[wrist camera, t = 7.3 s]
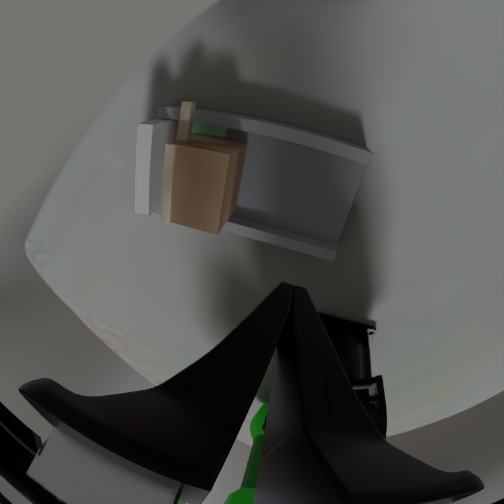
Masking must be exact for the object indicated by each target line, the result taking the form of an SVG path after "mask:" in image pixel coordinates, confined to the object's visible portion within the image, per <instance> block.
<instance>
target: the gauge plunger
mask: <svg viewBox="0 0 504 504" xmlns="http://www.w3.org/2000/svg"><path fill="white" fill-rule="evenodd" d="M195 105H196V102H191V101H182V105H181V113H180V120H179V129H178V137H177V140H174V141H172V142H169V143H166V146H165V157H164V171H163V187H162V209H161V221H162V222H166V223H171V222H173V223H176V224H180V225H184V226H187V227H191V228H194V229H198V230H202V231H205V232H209V233H213V234H216V235H218V233H219V232H220V230H221V229H222V228H223V226H224V225H225V223H226V222H227V220H228V219H229V218H230V216H231V215H232V213H233V212H234V210H235V209H236V205H237V199H238V194H239V188H240V183H241V177H242V172H243V166H244V161H245V156H246V150H247V145H248V142H244V141H239V140H234V139H229V138H224V137H219V136H213V135H208V134H202V133H193V134H191V133H192V126H193V119H194V112H195Z"/></svg>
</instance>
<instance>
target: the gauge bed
mask: <svg viewBox="0 0 504 504" xmlns="http://www.w3.org/2000/svg"><path fill="white" fill-rule="evenodd" d="M180 113H181V105H174V104H172V105H164V106H158V108H157V117H156V118H159V119H154V120H150V121H146V122H142V123H138V132H137V148H136V175H135V213H139V214H143V215H146V216H149V215H150V214H152V213H153V212H155V213H159V214H161V209H162V187H163V171H164V157H165V146H166V143H169V142H172V141H174V140H177V137H178V129H179V120H180ZM193 133H202V134H208V135H213V136H219V137H224V138H229V139H234V140H239V141H244V142H248V145H247V150H246V156H245V161H244V166H243V172H242V177H241V183H240V188H239V194H238V199H237V205H236V209H235V210H234V212H233V213H232V215H231V216H230V218H229V219H228V220H227V222H226V223H225V225H224V226H223V228H222V229H221V230H222V231H226V232H229V233H233V234H237V235H240V236H244V237H248V238H251V239H255V240H258V241H262V242H266V243H269V244H273V245H276V246H280V247H283V248H287V249H290V250H294V251H297V252H301V253H304V254H308V255H311V256H315V257H318V258H322V259H325V260H329V261H332V262H334V260H335V257H336V255H337V244H338V241H339V239H340V236H341V234H342V231H343V228H344V226H345V223H346V220H347V218H348V215H349V212H350V209H351V207H352V204H353V201H354V198H355V195H356V192H357V190H358V187H359V184H360V181H361V178H362V175H363V172H364V169H365V166H366V165H370V162H371V159H372V155H373V153H372V152H371V151H370V150H369V149H368V148H367V147H364V146H361V145H359V144H356V143H353V142H350V141H346V140H343V139H340V138H337V137H334V136H330V135H327V134H324V133H320V132H317V131H313V130H309V129H306V128H302V127H298V126H294V125H290V124H286V123H282V122H278V121H273V120H269V119H264V118H259V117H254V116H249V115H244V114H239V113H233V112H227V111H221V110H214V109H208V108H200V107H195V112H194V119H193V126H192V133H191V134H193Z"/></svg>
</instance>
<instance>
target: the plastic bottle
mask: <svg viewBox="0 0 504 504" xmlns="http://www.w3.org/2000/svg"><path fill="white" fill-rule="evenodd" d="M268 406H269V402H267V403H266V404H264V405H262V407H261V408H260V409H259V410H258V412H257V413H256V414H255V416H254V417H253V419H252V421H251V424H250V431H251V436H252V438H253V445H252V449H251V452H250V456H249V460H248V463H247V467H246V471H245V474H244V478H243V482H242V485H241V488H240V489H239V490H237V491H235V492H233V493H232V494H230V495H229V496H228V498H227V500H226V501H225V503H224V504H253V500H254V494H255V489H256V483H257V477H258V471H259V465H260V462H261V461H260V459H261V453H262V446H263V440H264V432H263V430H262V425H263V423H264V421H265V417H266V415H267V412H268Z"/></svg>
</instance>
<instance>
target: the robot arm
mask: <svg viewBox="0 0 504 504" xmlns="http://www.w3.org/2000/svg"><path fill="white" fill-rule="evenodd" d="M371 331H373V332H371ZM376 333H377V332H376V328H375V327H373V326H368V325H364V324H360V323H356V322H352V321H348V320H344V319H340V318H336V317H332V316H328V315H324V314H320V313H317V310H316V308H315V306H314V304H313V302H312V300H311V298H310V296H309V294H308V292H307V290H306V288H303V287H300V286H296V285H295V286H294V287H293V285H292V284H289V283H285V282H281V283H280V284H279V285H278V286H277V287H276V288H275V289H274V290H273V291H272V292H271V293H270V294H269V295H268V296H267V297H266V298H265V299H264V300H263V301H262V302H261V303H260V304H259V305H258V306H257V307H256V308H255V309H254V310H253V311H252V312H251V313H250V314H249V315H248V316H247V317H246V318H245V319H244V320H243V321H242V322H241V323H240V324H239V325H238V326H237V327H236V328H235V329H234V330H233V331H231V332H230V333H229V335H227V336H226V337H225V338H224V339H223V340H222V341H221V342H220V343H219V344H217V345H216V346H215V347H214V348H213V349H212V350H211V351H209V352H208V353H207V354H205V355H204V356H203V357H201V358H200V359H198V360H197V361H196V362H194V363H193V364H191V365H190V366H188V367H187V368H185V369H184V370H182V371H181V372H179V373H178V374H176V375H175V376H173V377H172V378H170V379H168V380H167V381H165V382H164V383H162V384H160V385H158V386H155V387H153V388H150V389H146V390H140V391H134V392H127V393H120V394H113V395H104V396H82V395H79V394H75V393H73V392H71V391H69V390H68V389H66V388H64V387H63V386H61V385H60V384H58V383H57V382H55V381H54V380H52V379H49V378H41V379H37V380H32V381H30V382H27V383H25V384H24V385H22V386H21V387H20V388H19V392H20V393H21V394H22V395H23V397H24V398H25V399H26V400H27V401H28V402H29V403H30V404H31V405H32V406H33V407H34V408H35V409H36V410H37V411H38V412H39V413H40V414H41V415H42V416H43V417H44V418H45V419H46V420H47V421H48V422H49V423H50V424H51V425H53V428H52V430H51V432H50V433H49V435H48V437H47V439H46V440H45V442H44V444H43V445H42V441H41V437H40V436H38V435H37V434H36V433H35V432H33V431H32V430H31V429H30V428H28V427H27V426H26V425H25V424H24V423H23V422H22V421H20V420H19V419H18V418H17V417H16V416H15V415H14V414H13V413H12V412H11V411H9V410H8V409H7V408H6V407H5V406H4V405H3V404H2V403H1V402H0V503H1V504H186V503H188V504H202V502H203V501H204V500H205V498H206V497H207V495H208V494H209V493H210V491H211V490H212V487H213V485H214V483H215V481H216V479H217V477H218V475H219V473H220V471H221V469H222V467H223V465H224V463H225V460H226V458H227V456H228V454H229V452H230V450H231V448H232V446H233V444H234V442H235V439H236V437H237V435H238V433H239V431H240V428H241V426H242V424H243V422H244V420H245V417H246V415H247V413H248V411H249V409H250V406H251V404H252V402H253V400H254V398H255V395H256V393H257V391H258V388H259V386H260V384H261V382H262V379H263V377H264V375H265V372H266V370H267V367H268V365H269V363H270V360H271V358H272V356H273V353H274V351H275V348H276V351H275V360H274V368H273V376H272V383H271V391H270V398H269V406H268V412H267V415H266V417H265V421H264V423H263V425H262V430H263V432H264V440H263V446H262V453H261V459H260V461H261V462H260V465H259V471H258V477H257V483H256V489H255V494H254V500H253V504H453V502H455V501H457V500H460V499H462V498H465V497H468V496H470V495H472V494H475V493H477V492H479V491H481V490H482V489H484V484H483V482H482V481H481V479H480V478H479V477H478V476H477V475H475V474H473V473H472V472H470V471H468V470H464V471H459V472H445V471H441V470H438V469H436V468H434V467H432V466H430V465H428V464H426V463H424V462H422V461H420V460H418V459H416V458H414V457H412V456H411V455H409V454H407V453H405V452H403V451H401V450H400V449H398V448H396V447H394V446H393V445H391V444H389V443H388V442H387V441H386V431H387V410H386V401H385V393H384V386H383V379H382V375H378V376H376V377H372V374H371V360H370V348H369V343H370V342H371V341H372V339H373V338H374V336H375V335H376ZM492 504H504V498H503V499H501V500H499V501H496V502H494V503H492Z"/></svg>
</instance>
